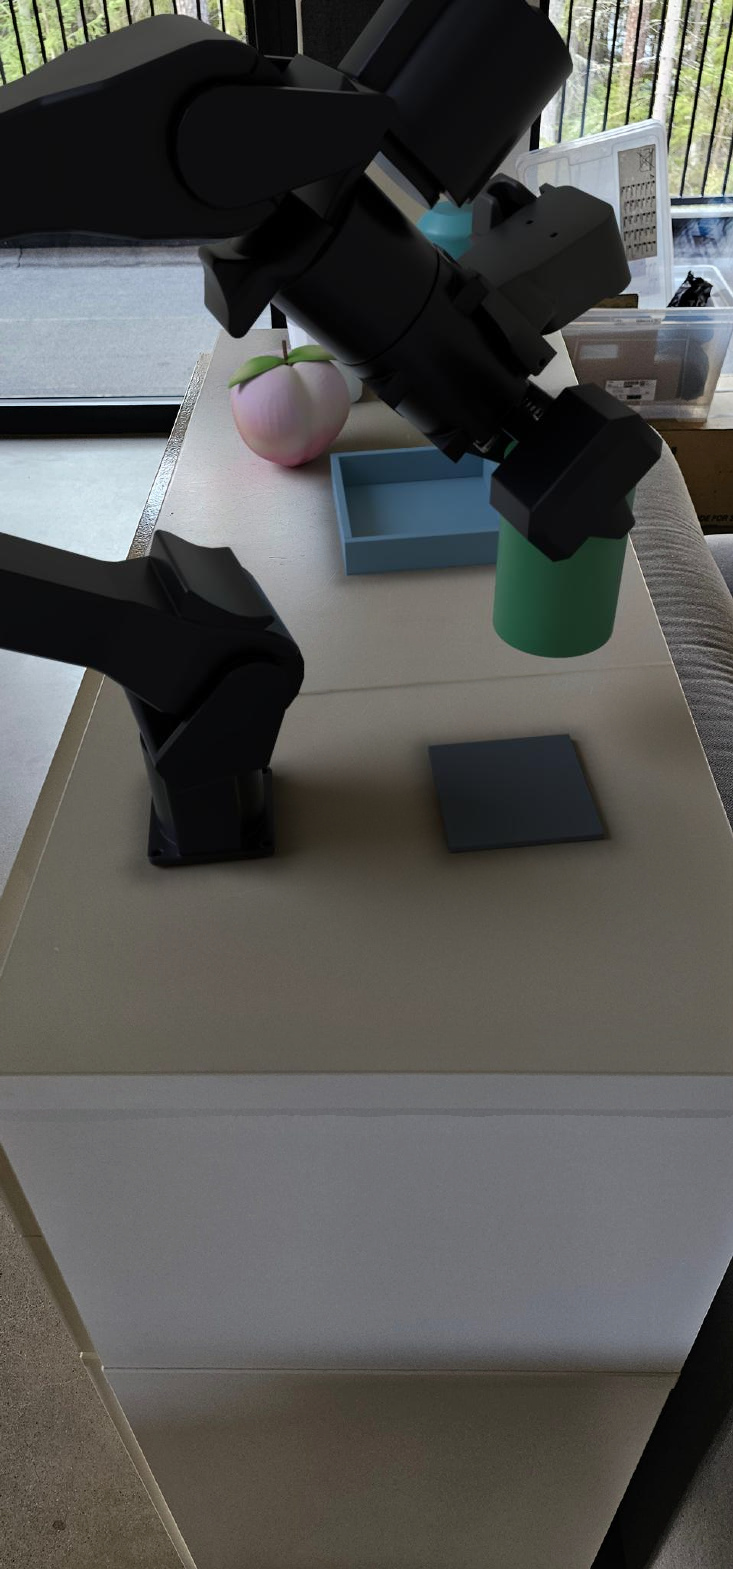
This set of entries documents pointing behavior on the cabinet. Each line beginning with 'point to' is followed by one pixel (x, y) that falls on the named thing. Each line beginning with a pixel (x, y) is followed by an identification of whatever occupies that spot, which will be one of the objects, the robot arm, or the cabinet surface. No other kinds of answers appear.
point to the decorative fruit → (289, 403)
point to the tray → (413, 510)
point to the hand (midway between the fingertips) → (590, 499)
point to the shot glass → (352, 381)
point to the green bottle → (556, 593)
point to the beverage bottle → (448, 227)
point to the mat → (513, 793)
